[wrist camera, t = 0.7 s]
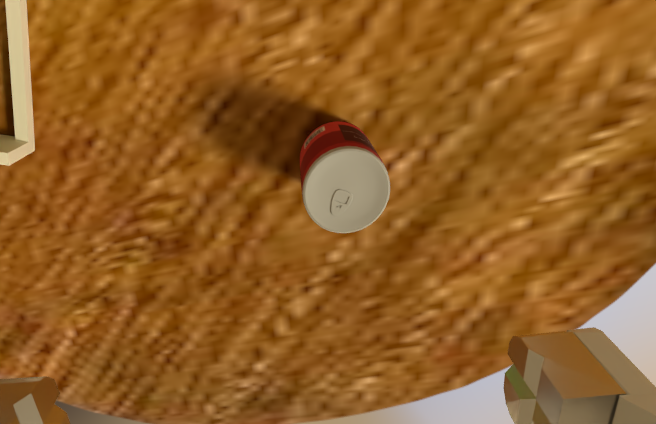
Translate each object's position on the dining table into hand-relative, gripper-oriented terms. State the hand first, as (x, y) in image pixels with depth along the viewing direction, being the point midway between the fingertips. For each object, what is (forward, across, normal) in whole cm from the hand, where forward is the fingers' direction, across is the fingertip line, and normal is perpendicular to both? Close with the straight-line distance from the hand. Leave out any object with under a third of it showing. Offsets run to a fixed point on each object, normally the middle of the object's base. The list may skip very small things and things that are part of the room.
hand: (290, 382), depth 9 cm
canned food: (+43, -4, +9) cm, 44 cm away
